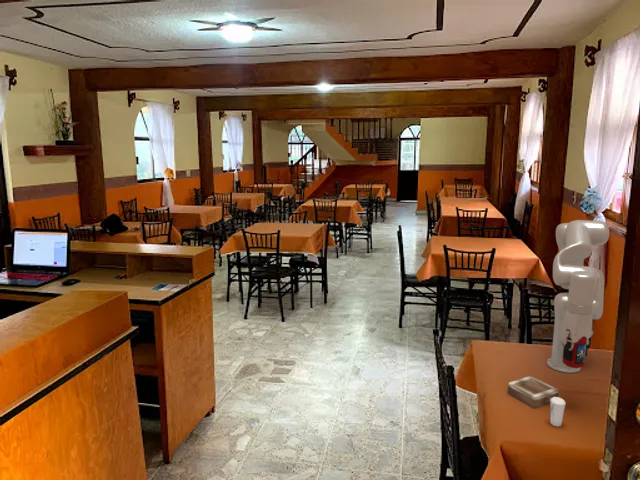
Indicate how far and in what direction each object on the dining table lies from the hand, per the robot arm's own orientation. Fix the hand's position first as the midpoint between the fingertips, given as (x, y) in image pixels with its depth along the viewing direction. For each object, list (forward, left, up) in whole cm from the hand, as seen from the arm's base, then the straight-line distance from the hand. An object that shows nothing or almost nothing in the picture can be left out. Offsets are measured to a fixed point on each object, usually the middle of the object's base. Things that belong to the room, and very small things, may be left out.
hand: (574, 357), depth 167 cm
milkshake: (+13, +4, -20) cm, 24 cm away
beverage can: (0, 0, -3) cm, 3 cm away
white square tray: (+5, -12, -19) cm, 23 cm away
